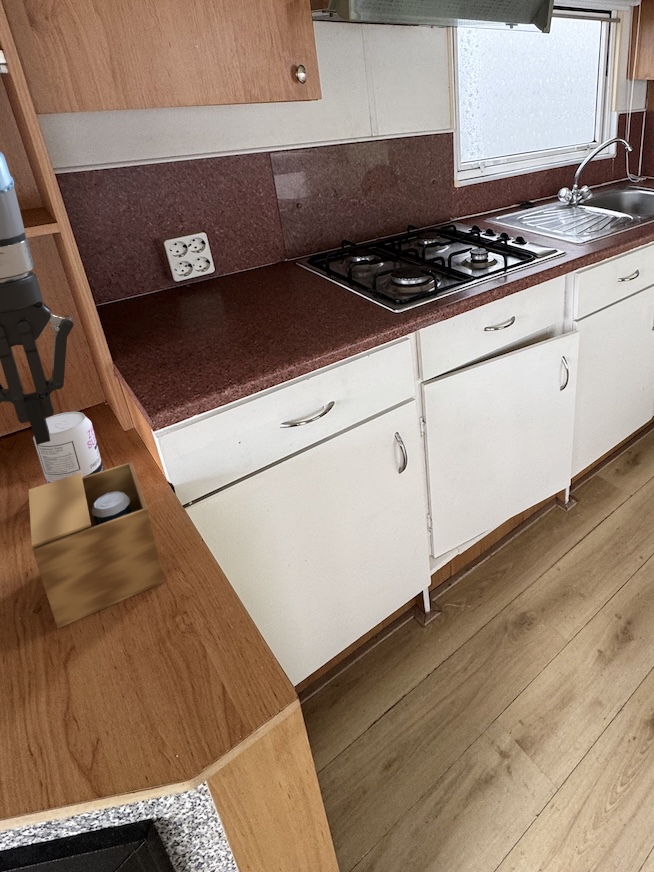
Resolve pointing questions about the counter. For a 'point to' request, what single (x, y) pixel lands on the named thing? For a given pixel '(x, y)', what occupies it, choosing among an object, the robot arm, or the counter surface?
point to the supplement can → (69, 447)
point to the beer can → (111, 507)
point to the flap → (58, 509)
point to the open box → (101, 553)
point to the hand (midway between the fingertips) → (43, 438)
